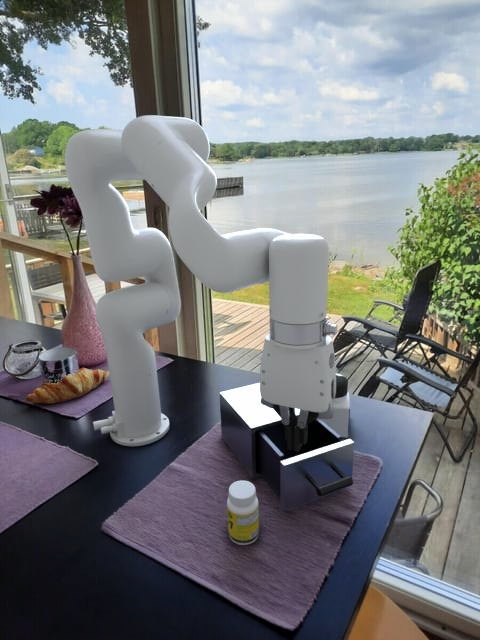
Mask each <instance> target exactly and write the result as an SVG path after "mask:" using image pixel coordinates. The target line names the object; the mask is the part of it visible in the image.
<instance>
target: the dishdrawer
mask: <svg viewBox="0 0 480 640" xmlns="http://www.w3.org/2000/svg"><path fill="white" fill-rule="evenodd" d="M260 401H261V395H260V382H257V383H253V384H249V385H245V386H240V387H237V388H232V389H229V390H228V389H227V390H224V391H220V392H219V409H220V411H219V412H220V429H221V430H220V432H221V438H222V440H223V441H224V443H225V444H226V445H227V447H228V448H229V449H230V451H231V452H232V454H233V455H234V456H235V457H236V459H237V460H238V461H239V463H240V464H241V467H243V468H244V469H245V471H246V473H247V474H248V476H249V477H250V478H251V479H252V480H253V479H256V478H259V477H263V476H262V475H261V474H260V472H259V471H258V470H257V468H256V446H255V431H257V430H260V429H264V428H267V427H271V426H274V425H278V424H281V423H282V421H281V417H280V416H279V415H278V414H277V413H276V412H275V410H274V409H273V408H272V409H271V408H269V407H267V406H265V405H263V404H261V402H260ZM295 412H296V414H295V415H296V416H298V417H299V412H300V409H296V408H295Z"/></svg>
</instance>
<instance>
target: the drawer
mask: <svg viewBox="0 0 480 640" xmlns="http://www.w3.org/2000/svg"><path fill="white" fill-rule="evenodd" d="M342 439H343V437H341V436H340V435H339V434H338V433H336V432H335V431H334V430H333V429H332V428H330V427H329V426H328V425H327V424H326V423H324V422H323V421H322V420H321V419H320V418H317V419H315V420H314V421H312V422H311V423H309V424H308V438H307V442H306V444H305V445H304V444H302V446H301V448H300V450H299V452H297V451H294V450H293V449H292V450H289V449H287V440H285V425H284V424H283V423H281V424H278V425H274V426H271V427H267V428H264V429H260V430H257V431H255V446H256V468H257V470H258V471H259V472H260V474H261V475H262V476H261V477H263V479H264V480H265V482H266V483H267V484H268V485H269V487H270V488H271V489H272V490H273V492H274V493H275V494H276V496H277V497H278V498H279V500H280V501H279V506H280V508H281V510H282V511H283V512H286V511H289V510H292V509H294V508H298V507H300V506H302V505H305V504H308V503H311V502H313V501H315V500H319V499H322V498H324V497H327V496H329V495H331V494H335V493H337V492H339V491H342V490H345V489H348V488H351V487H352V486H353V485H354V479H353V474H354V473H353V471H354V458H355V457H354V455H355V453H354V452H355V441H354V440H352V439H351V438H348V439H345V440H342Z"/></svg>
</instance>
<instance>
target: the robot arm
mask: <svg viewBox="0 0 480 640" xmlns="http://www.w3.org/2000/svg"><path fill="white" fill-rule="evenodd" d="M210 148H211V147H210V140H209V137H208V134H207V133H206V131H205V129H204V128H203V127H202V126H201V125H200V124H199V123H198V122H197V121H195V120H194V119H191V118H187V117H181V116H167V115H157V114H155V115H153V114H150V115H149V114H148V115H147V114H145V115H140V116H137V117H135V118H133V119H131V120H130V121H129V122H128V123H127V124H126V125H125V127H124V128H123V129H114V128H113V129H112V128H95V129H84V130H81V131H78V132H76V133H74V134H73V135H71V137H70V138H69V139H68V141H67V143H66V145H65V150H64V169H65V175H66V177H67V181H68V183H69V186H70V189H71V190H72V193H73V194H74V197H75V199H76V201H77V204H78V205H79V208H80V211H81V215H82V218H83V225H84V228H85V229H84V230H85V233H86V238H87V242H88V247H89V251H90V254H91V255H90V256H91V260H92V264H93V269H94V271H95V274H96V275H97V277H98V278H99V279H100V280H101V281H102V282H105V283H120V282H124V281H129V280H134V279H138V278H142V277H144V282H143V283H139V284H133V285H129V286H126V287H122V288H117V289H114V290H110V291H109V292H107V293H105V294H104V295H101V297H99V299H98V301H97V302H96V304H95V307H94V314H95V319H96V323H97V325H98V328H99V332H100V335H101V337H102V342H103V345H104V349H105V354H106V360H107V367H108V372H109V379H110V380H109V381H110V387H111V393H112V400H113V401H112V402H113V409H114V410H112V411H111V414H112V415H110V416H107V418H106V419H105V418H104V419H99V420H96V421H95V420H94V421H92V425H93V430H94V432H96V431H100V433H101V435H105V434H108V433H109V435H110V439H111V440H112V441H113V442H114V443H116V444H117V445H120V446H125V447H141V446H146V445H150V444H152V443H155V442H157V441H159V440H160V439H162V438H163V437H164V436H165V435H167V433H168V432H169V430H170V419H169V417H168V416H167V415H165V414H164V413H162V407H161V397H160V390H159V389H160V388H159V378H158V370H157V360H156V359H157V358H156V352H155V350H154V348H153V346H152V345H151V344H150V343H149V342H148V341H147V339H145V338H144V333H146V332H148V331H150V330H153V329H156V328H159V327H162V326H165V325H169V324H171V323H172V322H174V321H175V320H176V319H178V317H179V316H180V313H181V309H182V300H181V292H180V288H179V281H178V275H177V269H176V262H175V258H174V257H175V256H174V253H173V252H174V251H175V252H176V254H177V256H178V257H179V259H180V260H181V261H182V263H184V265H185V266H186V268H188V270H189V271H190V272H191V273H192V275H194V277H195V278H196V279H198V281H199V282H200V283H201V284H203V285H204V286H205V287H206V288H207V289H209V290H211V291H213V292H216V293H219V294H231V293H235V292H237V291H241V290H244V289H247V288H251V287H253V286H254V287H255V286H257V285H262V284H264V283H265V284H266V283H268V298H269V300H268V301H269V302H268V303H269V304H268V306H269V309H268V310H269V312H268V313H269V315H268V316H269V317H268V319H269V322H268V323H269V332H268V333H267V334H266V336H265V339H264V342H263V346H262V347H263V348H262V354H261V359H260V361H261V362H260V369H259V370H260V371H259V383H260V395H261V401H260V402H261V404H263V405H265V406H267V407H269V408H271V409H272V408H273V409H274V410H275V412H276V413H277V414H278V415H279V416H280V417H281V421H282V423H283V424H284V425H285V440H287V449H289V450H292V449H293V450H294V451H297V452H299V450H300V448H301V446H302V444H304V445H305V444H306V442H307V438H308V424H309V423H311V422H312V421H314V420H315V419H317V418H320V419H331V418H332V417H333V415H334V413H335V410H334V406H333V401H332V400H334V398H335V394H336V373H337V372H336V371H337V370H336V369H337V367H336V355H335V347H334V343H333V339H332V337H331V335H332V336H337V333H338V324H332V323H331V322H330V321H329V316H328V315H327V313H328V287H329V260H330V247H329V244H328V241H327V239H325V238H324V237H322V236H320V235H317V234H311V233H289V232H286V231H282V230H279V229H275V228H269V227H260V228H253V229H248V230H240V231H236V232H229V233H225V234H222V233H220V232H219V231H218V230H217V229H215V227H214V226H213V225H212V224H211V223H210V222H209V221H208V220H207V218H205V216H204V214H202V212H201V211H203V209H204V208H205V207H206V206H207V205H209V203H210V201H211V200H212V199H213V196H214V195H215V193H216V190H217V186H218V185H217V184H218V179H217V176H216V173H215V171H214V170H213V169H212V167H211V166H209V164H208V163H207V161H208V159H209V157H210V151H211V149H210ZM122 181H123V182H124V181H125V182H127V181H146V183H147V184H148V185H149V186H150V187H151V188H152V190H153V191H154V192H155V193H156V194H157V196H159V197H160V199H161V200H162V201H163V202H164V203H165V204H166V205H167V207H168V208H169V211H168V218H167V219H168V220H167V221H168V230H169V235H170V239H171V242H172V245H171V243H170V241H169V239H168V238H167V236H166V235H165V234H164V233H163V232H162V231H161V230H159V229H158V228H156V227H148V226H147V227H138V228H134V227H133V223H132V217H131V212H130V208H129V205H128V203H127V202H126V200H125V198H124V197H123V196H122V194H121V193H120V192H119V190H117V188H115V186H114V185H112V184H111V183H112V182H122ZM172 246H173V248H174V251H173V248H172ZM295 408H296V409H300V412H299V417H298V416H296V415H295V414H296V412H295Z"/></svg>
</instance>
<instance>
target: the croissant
mask: <svg viewBox="0 0 480 640" xmlns="http://www.w3.org/2000/svg"><path fill="white" fill-rule="evenodd" d="M77 370H78V374H75V373H72V374H68V375H67V376H65V377H63V379H62V380H61V381H62V382H60V383H59V382H57V383H50V382H49V383H47V382H44V381H43V382H42V383H41V386H40V387H36V388H35V389H34V390H32V391H31V392H30V394H27V395H25V398H26V400H27V402H29V403H32V404H33V403H35V404H36V403H37V404H41V403H42V404H46V405H47V404H48V405H49V404H55V403H61V402H66V401H71V400H72V399H75V398H79V397H83V396H84V395H85V394H88V392H90V391H91V390H93V389H95V388H97V387H98V386H99V385H101V384H102V383H103V384H104V382H106V381H107V380H108V379H109V378H110V374H109V370H102V369H99V368H96V369H94V370H93V369H88V368H85V367H84V366H83V367H81V368H79V369H77Z"/></svg>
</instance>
